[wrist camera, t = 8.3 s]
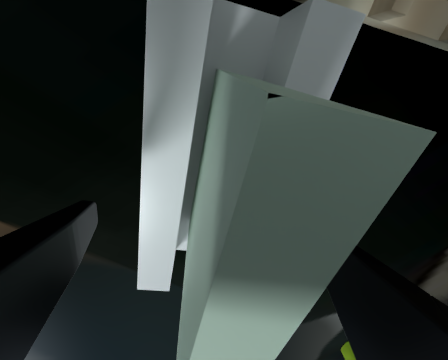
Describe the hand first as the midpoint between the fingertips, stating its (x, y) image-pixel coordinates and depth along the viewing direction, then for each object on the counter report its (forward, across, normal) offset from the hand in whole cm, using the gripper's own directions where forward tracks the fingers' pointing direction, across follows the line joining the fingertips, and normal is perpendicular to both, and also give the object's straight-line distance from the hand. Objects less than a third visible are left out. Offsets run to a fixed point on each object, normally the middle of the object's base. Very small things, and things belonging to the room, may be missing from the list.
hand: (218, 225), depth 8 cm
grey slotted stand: (+7, 0, 0) cm, 7 cm away
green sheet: (+6, 0, 0) cm, 6 cm away
